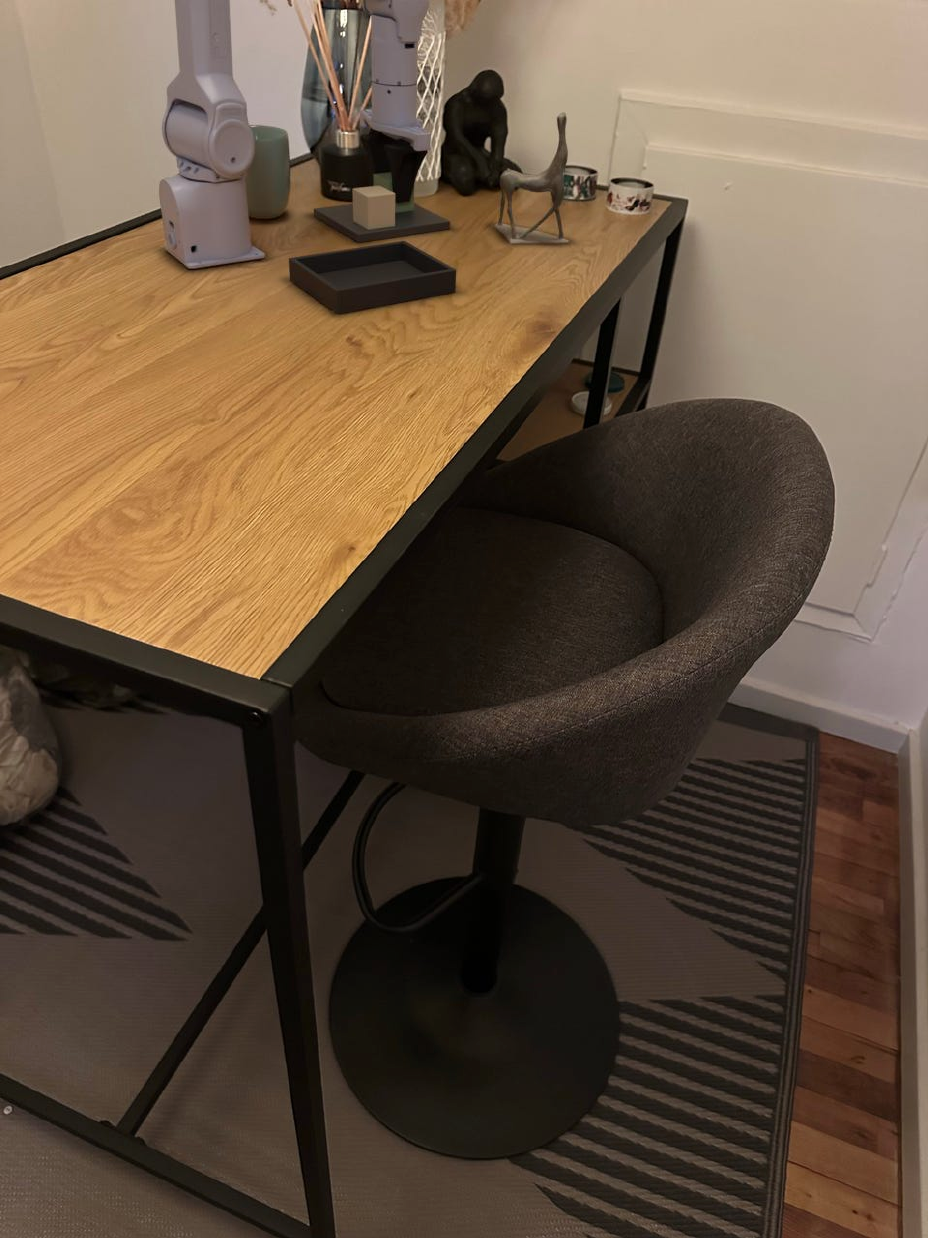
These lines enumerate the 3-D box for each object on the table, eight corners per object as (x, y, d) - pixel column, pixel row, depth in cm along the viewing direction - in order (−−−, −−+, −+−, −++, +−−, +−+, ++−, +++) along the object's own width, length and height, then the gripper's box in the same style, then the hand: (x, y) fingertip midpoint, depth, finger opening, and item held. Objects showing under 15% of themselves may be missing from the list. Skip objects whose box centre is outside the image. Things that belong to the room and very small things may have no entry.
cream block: (368, 230, 115) (368, 196, 113) (352, 221, 118) (352, 188, 115) (395, 226, 117) (395, 193, 114) (379, 217, 119) (379, 185, 117)
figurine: (475, 233, 120) (483, 105, 110) (500, 223, 124) (511, 99, 114) (547, 253, 115) (562, 121, 106) (571, 241, 120) (587, 113, 110)
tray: (337, 314, 96) (336, 290, 94) (289, 280, 103) (288, 257, 101) (455, 292, 103) (456, 269, 101) (403, 261, 110) (404, 240, 108)
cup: (222, 218, 118) (213, 133, 112) (250, 203, 124) (243, 121, 118) (276, 227, 117) (270, 141, 110) (302, 211, 123) (298, 129, 116)
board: (358, 242, 114) (357, 234, 113) (313, 216, 121) (313, 208, 121) (450, 228, 121) (450, 221, 120) (402, 204, 128) (402, 197, 127)
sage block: (388, 213, 121) (388, 181, 118) (373, 205, 123) (373, 173, 121) (413, 210, 123) (414, 178, 120) (398, 202, 125) (399, 171, 123)
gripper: (453, 91, 111) (447, 208, 120) (391, 69, 120) (391, 180, 128) (404, 94, 108) (402, 214, 116) (344, 72, 117) (347, 185, 125)
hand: (393, 197), depth 122 cm, fingers closed on sage block, 4 cm apart
